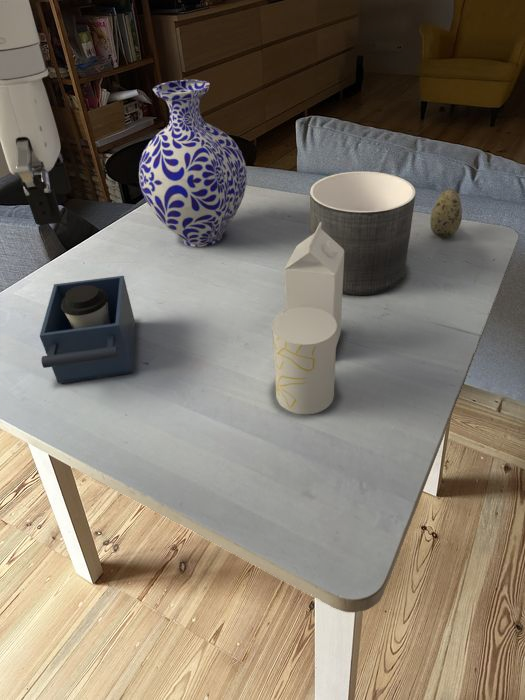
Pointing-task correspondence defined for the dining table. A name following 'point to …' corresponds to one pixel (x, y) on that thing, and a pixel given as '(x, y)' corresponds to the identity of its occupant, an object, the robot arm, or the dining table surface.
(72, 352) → the blue drawer with handle
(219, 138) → the vase
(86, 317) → the coffee cup
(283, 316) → the cup
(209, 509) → the dining table surface
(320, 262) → the milk carton
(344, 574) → the dining table surface
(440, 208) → the decorative egg
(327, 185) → the planter
